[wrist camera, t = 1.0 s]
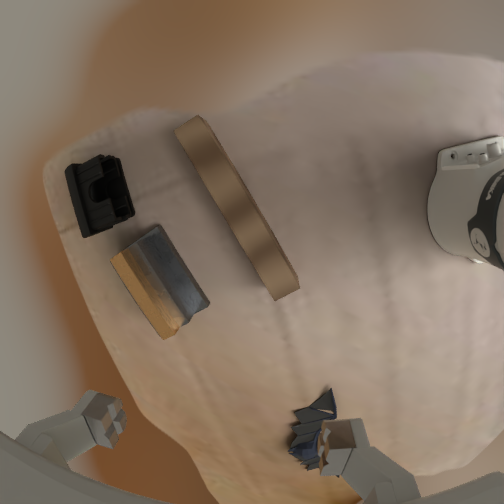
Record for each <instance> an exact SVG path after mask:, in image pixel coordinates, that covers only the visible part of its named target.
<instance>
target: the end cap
mask: <svg viewBox="0 0 504 504" xmlns="http://www.w3.org/2000/svg"><path fill="white" fill-rule="evenodd" d="M65 176H66V180H67V184H68V188H69V192H70V196H71V200H72V203H73V207H74V210H75V214H76V217H77V221H78V224H79V227H80V230H81V234H82V237H83V238H87V237H90V236H92V235H95V234H98V233H100V232H103V231H105V230H108V229H111V228H113V225H115V224H118V223H121V222H123V221H126V220H128V218H130V217H133V216H134V215H135V210H134V207H133V204H132V200H131V197H130V194H129V190H128V187H127V183H126V180H125V176H124V172H123V169H122V165H121V161H120V159H119V158H115V157H114V156H110V155H108V156H106V157H104V155H101V154H100V155H98V156H96V157H94V158H92V159H90V160H88V161H87V162H85V163H83V164H71V165H69V166H68V167H67V168H66V169H65Z"/></svg>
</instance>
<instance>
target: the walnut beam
mask: <svg viewBox="0 0 504 504" xmlns="http://www.w3.org/2000/svg"><path fill="white" fill-rule="evenodd" d="M174 133H175V135H176V136H177V138H178V140H179V141H180V143H181V145H182V147H183V148H184V150H185V152H186V153H187V155H188V157H189V158H190V160H191V162H192V163H193V165H194V167H195V169H196V170H197V172H198V174H199V175H200V177H201V179H202V180H203V182H204V184H205V185H206V187H207V189H208V191H209V192H210V194H211V196H212V197H213V199H214V201H215V202H216V204H217V206H218V207H219V209H220V211H221V212H222V214H223V216H224V217H225V219H226V221H227V222H228V224H229V226H230V228H231V229H232V231H233V233H234V234H235V236H236V238H237V239H238V241H239V243H240V244H241V246H242V248H243V249H244V251H245V253H246V254H247V256H248V258H249V259H250V261H251V263H252V264H253V266H254V268H255V269H256V271H257V273H258V274H259V276H260V278H261V279H262V281H263V283H264V284H265V286H266V288H267V289H268V291H269V293H270V294H271V296H272V298H273V299H274V301H276V300H278V299H280V298H282V297H284V296H286V295H288V294H290V293H292V292H294V291H296V290H298V289H300V286H299V281H298V276H297V274H296V273H295V271H294V269H293V267H292V265H291V264H290V262H289V260H288V258H287V257H286V255H285V253H284V251H283V250H282V248H281V246H280V244H279V242H278V241H277V239H276V237H275V235H274V234H273V232H272V230H271V229H270V227H269V225H268V223H267V222H266V220H265V218H264V216H263V215H262V213H261V211H260V210H259V208H258V206H257V204H256V203H255V201H254V199H253V198H252V196H251V194H250V192H249V191H248V189H247V187H246V186H245V184H244V182H243V181H242V179H241V177H240V176H239V174H238V172H237V171H236V169H235V167H234V166H233V164H232V162H231V161H230V159H229V157H228V156H227V154H226V152H225V151H224V149H223V147H222V146H221V144H220V142H219V141H218V139H217V137H216V136H215V134H214V132H213V131H212V129H211V128H210V126H209V124H208V123H207V121H205V120H204V119H203V118H202V117H200V116H199V115H197V116H195V117H193V118H192V119H190V120H189V121H187V122H186V123H184V124H183V125H181V126H180V127H178V128H177V129H175V130H174Z"/></svg>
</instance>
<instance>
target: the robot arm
mask: <svg viewBox="0 0 504 504" xmlns="http://www.w3.org/2000/svg"><path fill="white" fill-rule="evenodd" d="M451 154H452V156H453V158H451ZM427 212H428V221H429V225H430V229H431V232H432V234H433V236H434V238H435V240H436V241H437V243H438V244H439V245H440V247H441V248H442V249H444V250H445V251H446V252H448V253H450V254H452V255H456V256H464V257H468V258H469V259H470V260H472V261H473V262H475V263H478V264H482V263H483V262H485V263H488V264H491V265H494V266H496V267H498V268H500V269H502V270H503V271H504V137H502V136H495V137H491V138H487V139H483V140H478V141H474V142H470V143H466V144H462V145H458V146H455V147H451V148H447V149H443V150H441V151H440V152H439V154H438V159H437V173H436V176H435V178H434V181H433V183H432V186H431V188H430V192H429V197H428V205H427ZM122 406H123V404H122V401H121V399H119V398H116V397H113V396H109V395H106V394H103V393H99V392H96V391H92V390H88V391H87V392H86V393H85V394H84V395H83V397H82V398H81V399H80V400H79V402H78V403H77V404H76V405H75V406H74V408H73V409H72V410H71V411H69V410H67V411H65V412H62V413H60V414H57V415H54V416H51V417H49V418H46V419H43V420H40V421H37V422H34V423H32V424H28V425H27V427H26V428H25V429H24V430H23V431H22V432H21V433H20V434H19V436H18V437H17V438H16V439H15V440H14V439H12V438H10V437H9V436H7V435H6V434H4V433H3V432H1V431H0V504H172V503H168V502H164V501H159V500H155V499H151V498H147V497H144V496H141V495H137V494H134V493H130V492H127V491H124V490H121V489H118V488H115V487H112V486H109V485H107V484H104V483H101V482H99V481H96V480H93V479H91V478H88V477H86V476H83V475H81V474H79V473H76V472H74V471H72V470H71V469H70V467H69V466H68V464H67V462H68V461H70V460H72V459H73V458H75V457H77V456H79V455H80V454H82V453H84V452H85V451H87V450H89V449H90V448H92V447H94V446H95V445H96V444H98V445H101V446H104V447H108V448H111V449H114V447H115V445H116V443H117V442H118V440H119V437H118V434H120V433H122V432H123V431H124V429H125V427H126V422H127V418H126V414H125V412H124V411H123V410H122V409H121V407H122ZM321 429H322V432H321V433H320V434H319V437H318V445H317V450H318V455H319V456H320V457H321V458H320V461H319V469H320V476H331V475H341V476H342V477H343V478H344V479H345V480H346V481H347V483H348V484H349V485H350V486H351V487H352V488H353V489H354V490H355V491H356V492H357V493H358V494H359V495H360V496H361V498H362V499H363V500H364V503H363V504H504V473H501V472H492V473H489V474H486V475H484V476H482V477H480V478H477V479H475V480H472V481H470V482H467V483H465V484H462V485H459V486H457V487H454V488H451V489H448V490H445V491H442V492H439V493H436V494H432V495H429V496H426V497H422V498H421V496H420V493H419V490H418V487H417V484H416V481H415V478H414V476H413V475H412V474H411V473H410V472H408V471H407V470H405V469H404V468H403V467H401V466H400V465H398V464H397V463H396V462H394V461H393V460H391V459H390V458H389V457H387V456H386V455H385V454H383V453H382V452H381V451H379V450H378V449H377V448H375V447H374V446H373V447H370V444H369V440H368V437H367V433H366V430H365V427H364V424H363V420H362V419H361V418H355V419H340V420H323V422H322V426H321Z"/></svg>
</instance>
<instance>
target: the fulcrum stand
mask: <svg viewBox="0 0 504 504" xmlns="http://www.w3.org/2000/svg"><path fill="white" fill-rule="evenodd" d="M110 262H111V264H112V266H113V267H114V269H115V271H116V272H117V274H118V275H119V277H120V279H121V280H122V282H123V283H124V285H125V286H126V288H127V290H128V291H129V293H130V294H131V296H132V297H133V299H134V300H135V302H136V303H137V305H138V306H139V308H140V309H141V311H142V312H143V314H144V315H145V316H146V318H147V319H148V321H149V322H150V324H151V325H152V326H153V328H154V329H155V331H156V332H157V333H158V335H159V336H160V337H161V338H162V339H163V340H165V339H167V338H169V337H171V336H173V335H175V334H176V332H177V331H178V329H179V328H180V327H181V326H183V325H185V324H187V323H189V322H190V320H191V318H192V317H193V315H194V314H195V313H197V312H199V311H201V310H203V309H205V308H207V307H208V306H209V304H210V302H209V300H208V299H207V297H206V296H205V294H204V293H203V291H202V289H201V288H200V286H199V285H198V283H197V282H196V280H195V279H194V277H193V276H192V274H191V272H190V271H189V269H188V268H187V266H186V265H185V263H184V261H183V260H182V258H181V257H180V255H179V253H178V252H177V250H176V249H175V247H174V245H173V244H172V242H171V240H170V239H169V237H168V236H167V234H166V232H165V231H164V229H163V227H162V226H161V225H160V226H157V227H156V228H154V229H153V230H151V231H150V232H149V233H147V234H146V235H144V236H143V237H141V238H140V239H139V240H137V241H136V242H134V243H133V244H131V245H130V246H129V247H127V248H126V249H124V250H123V251H122V252H120V253H119V254H117V255H116V256H114V257H113V258H112V259H110Z"/></svg>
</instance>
